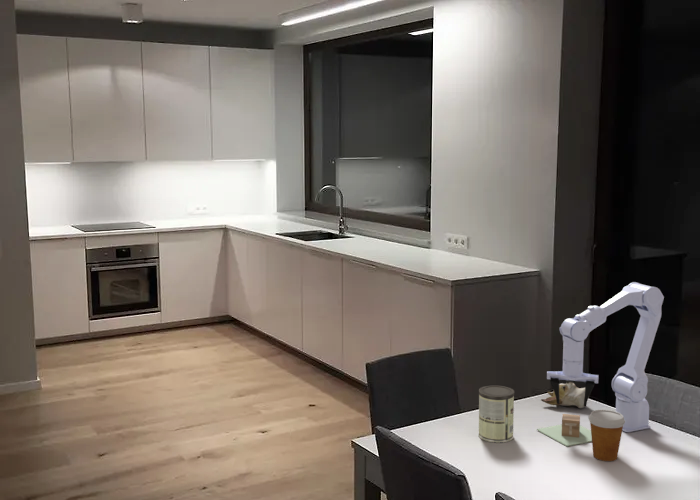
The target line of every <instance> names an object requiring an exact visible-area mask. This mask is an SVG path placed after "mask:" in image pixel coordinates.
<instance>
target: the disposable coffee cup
mask: <svg viewBox="0 0 700 500" xmlns="http://www.w3.org/2000/svg"><path fill="white" fill-rule="evenodd" d="M588 421H589V423H590V424H589V425H590V430H591V436H592V442H591V445H592V455H593V458H595V459H597V460H599V461H603V462H614V461H616V460H618V456H619V450H620V445H621V439H622V435H623V434H622V433H623V430H622V429H623V425H624V423H625V420H624V417H623V415H622V414H620V413H618V412H616V410H611V409H610V410H609V409H595V410H592V411H590V415H589V416H588Z"/></svg>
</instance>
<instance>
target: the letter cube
mask: <svg viewBox="0 0 700 500" xmlns="http://www.w3.org/2000/svg"><path fill="white" fill-rule="evenodd" d="M561 424H562V436H569V437H578V438H579V432H580V425H581V415H578V414H570V413H569V414H568V413H562V416H561Z"/></svg>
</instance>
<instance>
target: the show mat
mask: <svg viewBox="0 0 700 500" xmlns="http://www.w3.org/2000/svg"><path fill="white" fill-rule="evenodd" d="M537 430H538V432H539V431H540V432H539V433H541V434H543V435H545V436H546V437H548V438H550V439H553V440H554V441H555V442H557V443H559V444H561V445H562V446H565V447H571V446H572V447H573V446H577V445H583V444H589V443H592V436H591V429H589V428H586V427H585V426H582V425H581V424H580V432H579V438H578V437H569V436H562V423H561V424H557V425H551V426H546V427H541V428H536V431H537Z"/></svg>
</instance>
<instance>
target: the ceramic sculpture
mask: <svg viewBox="0 0 700 500" xmlns="http://www.w3.org/2000/svg"><path fill="white" fill-rule="evenodd" d="M547 394H548V395H549V396H548V397H546V398H542V399H540V401H541V402H542V403H545V404H548V405H551V406H563V407H570V406H576V407H577V408H578V409H583V408H585V406H584V397H585V387H581V388H579V387H577V386H576V384H575V383H574V382H573V381H571V380H566V383H563V382H562V383H559V397H560V401H559V404H557V401H556V396H555V392H554V390H552V392H551V391H547ZM589 397H590V396H589ZM589 397H588V399H590V398H589Z"/></svg>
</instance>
